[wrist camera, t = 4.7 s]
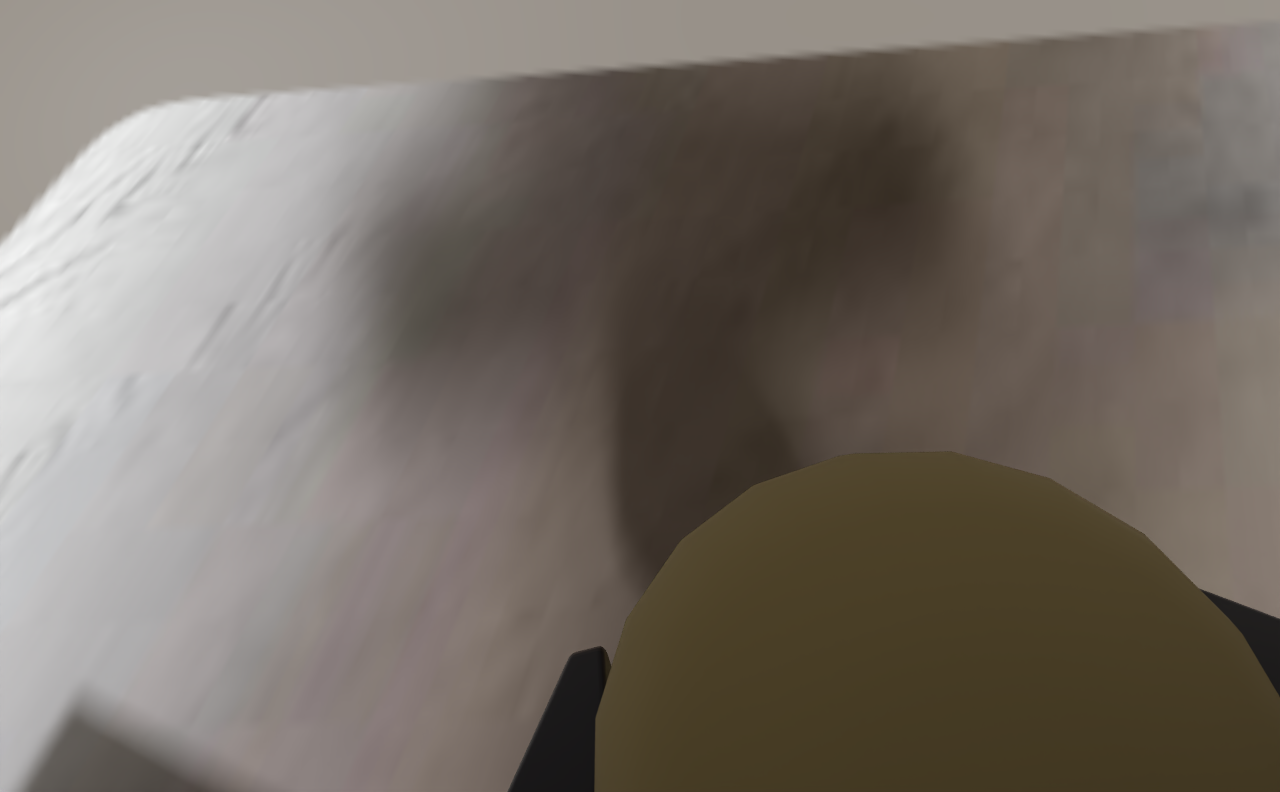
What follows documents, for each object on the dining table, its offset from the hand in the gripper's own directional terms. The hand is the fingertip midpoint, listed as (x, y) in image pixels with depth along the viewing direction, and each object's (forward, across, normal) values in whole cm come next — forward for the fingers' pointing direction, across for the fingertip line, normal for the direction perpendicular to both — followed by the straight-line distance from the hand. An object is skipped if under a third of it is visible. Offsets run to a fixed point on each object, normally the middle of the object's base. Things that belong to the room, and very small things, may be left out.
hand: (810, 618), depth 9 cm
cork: (+4, 0, +6) cm, 7 cm away
